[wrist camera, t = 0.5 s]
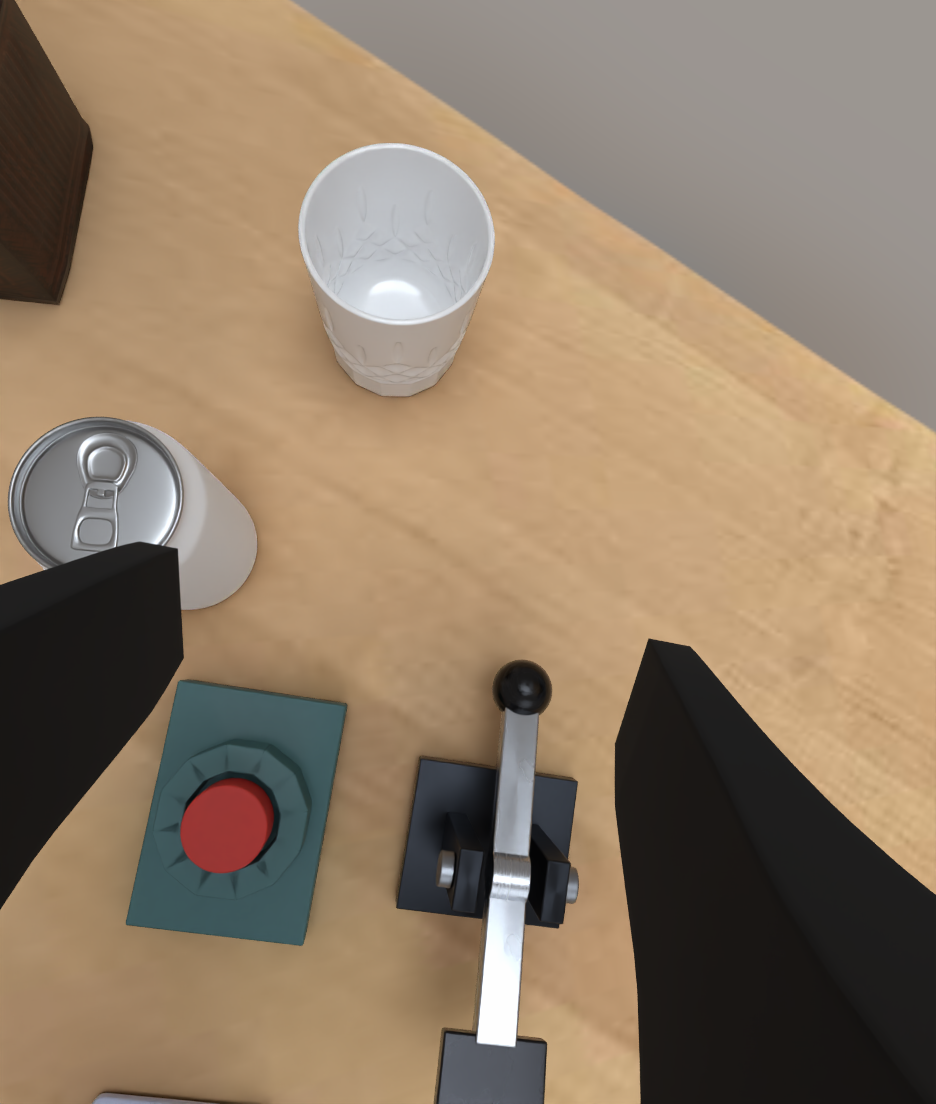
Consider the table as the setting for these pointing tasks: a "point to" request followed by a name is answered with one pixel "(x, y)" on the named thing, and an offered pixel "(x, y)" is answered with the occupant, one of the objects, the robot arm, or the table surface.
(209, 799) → the button
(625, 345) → the table surface
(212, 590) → the can
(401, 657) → the table surface
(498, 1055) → the lever
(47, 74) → the brown coffee grinder
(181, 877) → the button block
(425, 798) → the bracket
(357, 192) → the white cup
